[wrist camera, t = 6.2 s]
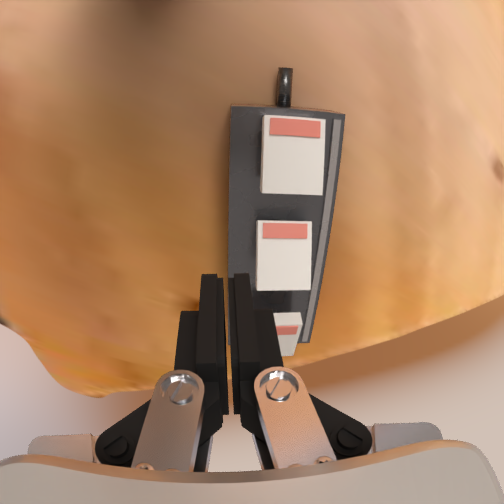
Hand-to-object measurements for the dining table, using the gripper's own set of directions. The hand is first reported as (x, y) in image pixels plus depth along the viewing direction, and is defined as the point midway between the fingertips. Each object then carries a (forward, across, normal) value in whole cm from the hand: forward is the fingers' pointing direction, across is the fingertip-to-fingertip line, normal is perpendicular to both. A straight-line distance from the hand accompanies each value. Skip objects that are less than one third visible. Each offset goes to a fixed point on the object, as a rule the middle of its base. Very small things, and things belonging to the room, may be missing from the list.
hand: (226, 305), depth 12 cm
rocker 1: (+14, -5, -2) cm, 15 cm away
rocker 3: (+13, -4, +15) cm, 21 cm away
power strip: (+19, -5, +5) cm, 21 cm away
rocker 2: (+14, -5, +7) cm, 16 cm away
